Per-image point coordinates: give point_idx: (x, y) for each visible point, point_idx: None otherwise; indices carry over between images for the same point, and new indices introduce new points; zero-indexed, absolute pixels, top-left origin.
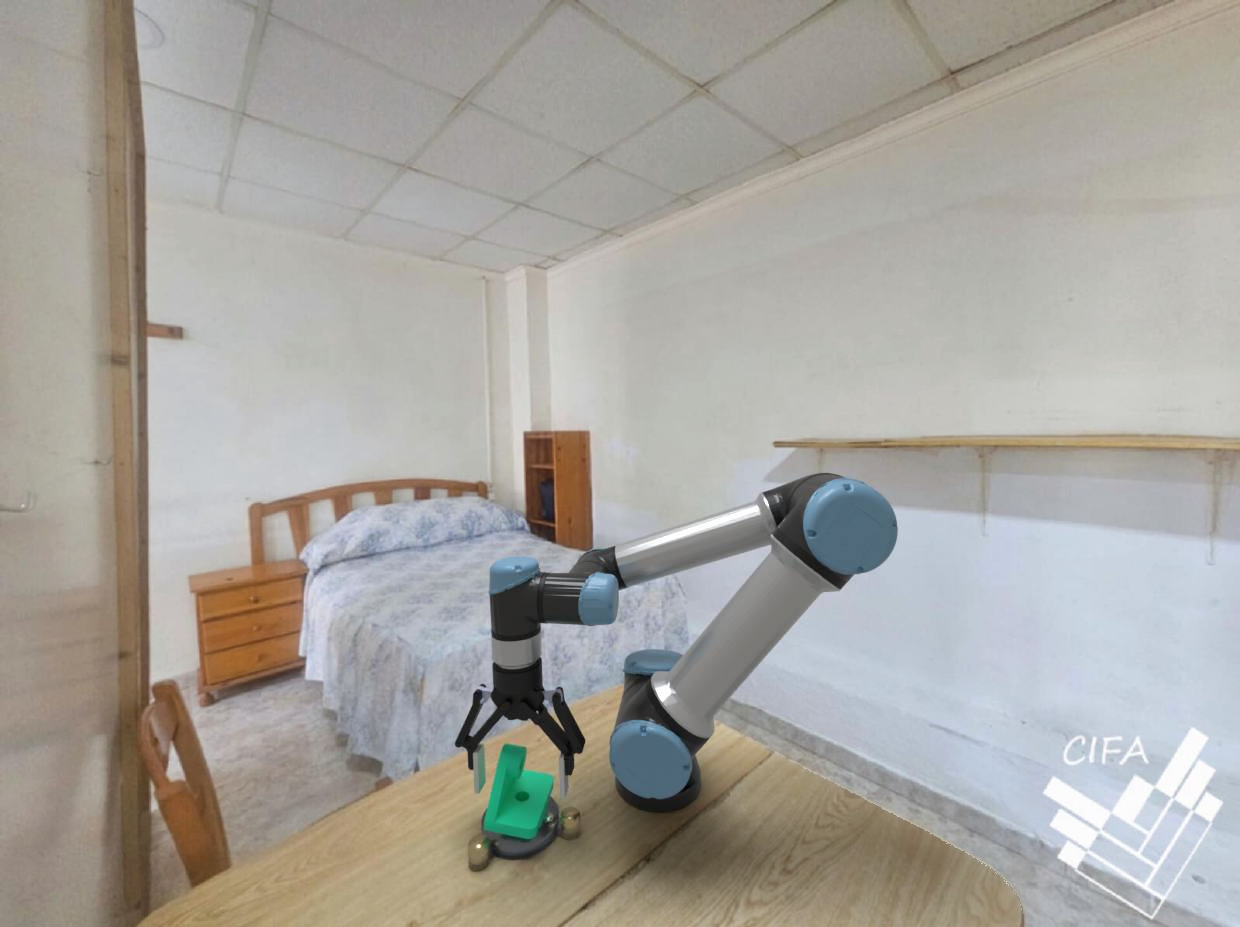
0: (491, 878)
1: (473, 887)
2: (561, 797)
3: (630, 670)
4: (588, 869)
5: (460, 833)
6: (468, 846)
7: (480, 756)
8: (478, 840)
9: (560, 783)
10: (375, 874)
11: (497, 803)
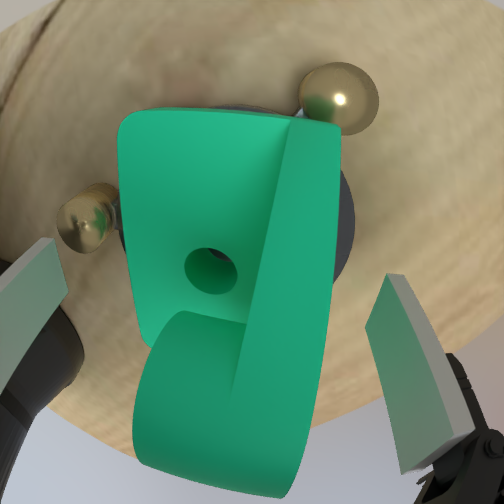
0: (277, 43)
1: (321, 19)
2: (47, 241)
3: None
4: (46, 107)
5: (401, 204)
6: (374, 85)
7: (421, 418)
8: (346, 109)
9: (15, 272)
10: None
11: (286, 174)
